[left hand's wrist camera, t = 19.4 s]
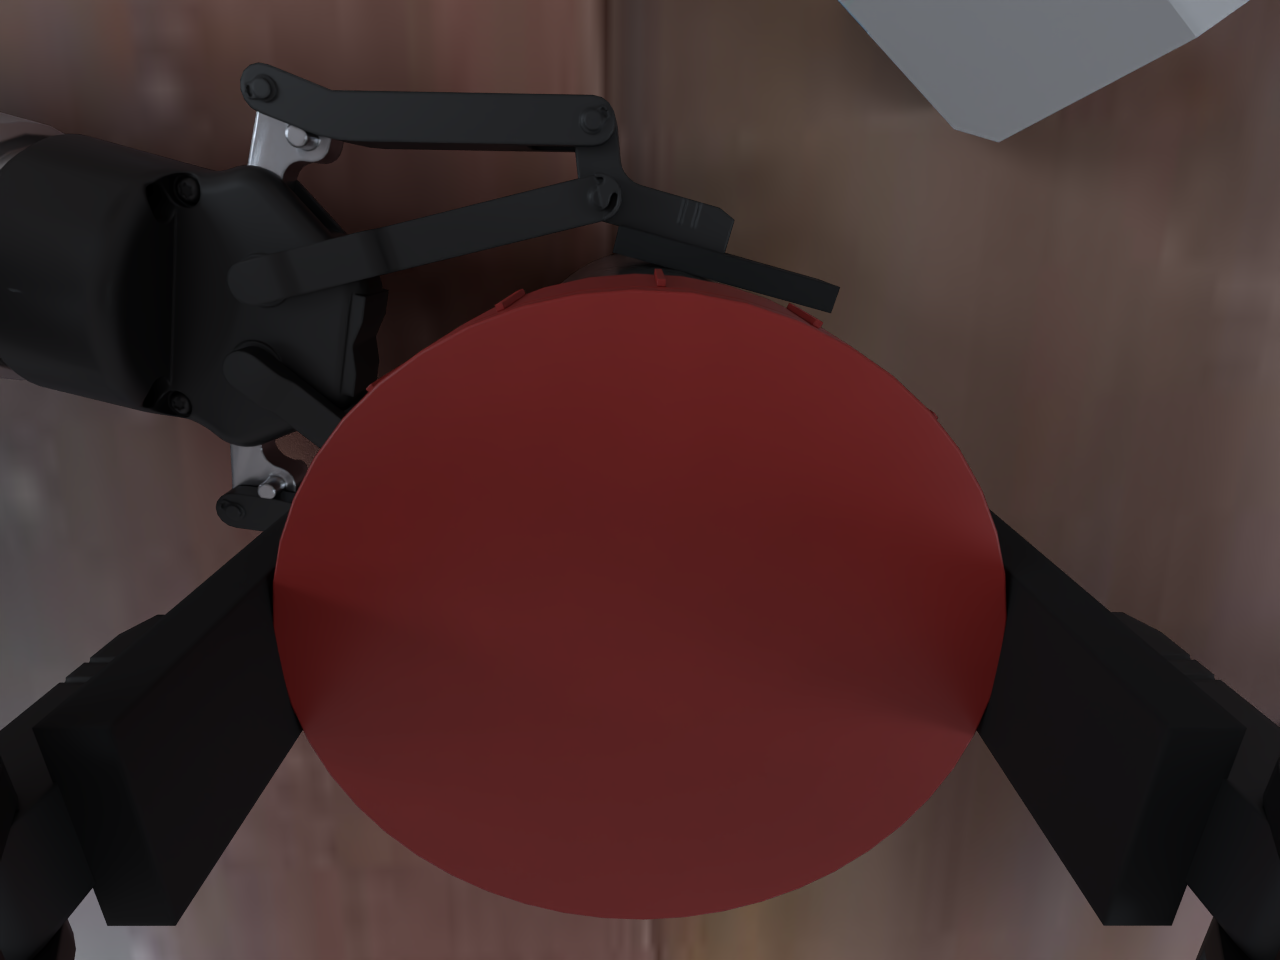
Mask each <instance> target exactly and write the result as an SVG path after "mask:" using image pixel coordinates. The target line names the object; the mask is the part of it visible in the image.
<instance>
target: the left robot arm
mask: <svg viewBox="0 0 1280 960" xmlns="http://www.w3.org/2000/svg"><path fill="white" fill-rule="evenodd" d="M989 511H990V513H991V516H992V519H993V522H994V524H995V527H996V530H997V533H998V539H999V544H1000V549H1001V554H1002V560H1003V565H1004V570H1005V578H1006V611H1007V619H1006V626H1005V632H1004V637H1003V642H1002V647H1001V652H1000V657H999V661H998V666H997V670H996V675H995V679H994V684H993V688H992V692H991V697H990V700H989V703H988V705H987V707H986V709H985V712H984V714H983V716H982V718H981V721H980V723H979V725H978V728H977V732H978V733H979V735H980V736H981V738H982V739H983V741H984V742H985V744H986V745H987V747H988V748H989V750H990V752H991V753H992V755H993V756H994V758H995V759H996V761H997V762H998V764H999V765H1000V767H1001V768H1002V770H1003V772H1004V773H1005V775H1006V776H1007V778H1008V779H1009V781H1010V782H1011V784H1012V785H1013V787H1014V788H1015V790H1016V791H1017V793H1018V795H1019V796H1020V798H1021V799H1022V801H1023V802H1024V804H1025V805H1026V807H1027V808H1028V810H1029V811H1030V813H1031V815H1032V816H1033V818H1034V819H1035V821H1036V822H1037V824H1038V825H1039V827H1040V828H1041V830H1042V831H1043V833H1044V835H1045V836H1046V838H1047V839H1048V841H1049V842H1050V844H1051V845H1052V847H1053V848H1054V850H1055V851H1056V853H1057V855H1058V856H1059V858H1060V859H1061V861H1062V862H1063V864H1064V865H1065V867H1066V868H1067V870H1068V871H1069V873H1070V875H1071V876H1072V878H1073V879H1074V881H1075V882H1076V884H1077V885H1078V887H1079V888H1080V890H1081V891H1082V893H1083V894H1084V896H1085V898H1086V899H1087V901H1088V902H1089V904H1090V905H1091V907H1092V908H1093V910H1094V911H1095V913H1096V914H1097V916H1098V918H1099V919H1100V921H1101V922H1102V924H1103V925H1104V926H1172V923H1173V921H1174V918H1175V915H1176V913H1177V910H1178V908H1179V905H1180V902H1181V900H1182V897H1183V894H1184V892H1185V889H1186V887H1187V885H1188V886H1189V887H1190V889H1191V890H1192V891H1193V892H1194V893H1195V895H1196V896H1197V897H1198V898H1199V900H1200V901H1201V902H1202V903H1203V905H1204V906H1205V907H1206V908H1207V909H1208V911H1209V912H1210V913H1211V914H1212V916H1213V919H1212V921H1211V924H1210V926H1209V929H1208V931H1207V933H1206V936H1205V938H1204V941H1203V943H1202V946H1201V948H1200V951H1199V953H1198V955H1197V958H1196V960H1280V727H1278V726H1277V725H1276V724H1275V723H1273V722H1272V721H1271V720H1270V719H1268V718H1267V717H1266V716H1265V715H1263V714H1262V713H1261V712H1260V711H1259V710H1257V709H1256V708H1255V707H1254V706H1252V705H1251V704H1250V703H1249V702H1247V701H1246V700H1245V699H1244V698H1242V697H1241V696H1240V695H1239V694H1237V693H1236V692H1235V691H1234V690H1232V689H1231V688H1230V687H1229V686H1227V685H1226V684H1225V683H1224V682H1222V681H1221V680H1215V678H1214V674H1213V673H1211V672H1210V671H1209V670H1208V669H1206V668H1205V667H1204V666H1203V665H1201V664H1200V663H1199V662H1198V661H1196V660H1190V655H1189V654H1188V653H1186V652H1185V651H1184V650H1183V649H1181V648H1180V647H1179V646H1178V645H1176V644H1175V643H1174V642H1173V641H1171V640H1170V639H1169V638H1168V637H1167V636H1165V635H1164V634H1163V633H1162V632H1160V631H1158V630H1156V629H1154V628H1152V627H1150V626H1148V625H1146V624H1144V623H1142V622H1140V621H1138V620H1136V619H1135V618H1133V617H1131V616H1129V615H1127V614H1125V613H1123V612H1110V611H1109V610H1108V609H1106V608H1105V607H1104V606H1103V605H1102V604H1101V603H1099V602H1098V601H1097V600H1096V599H1095V598H1093V597H1092V596H1091V595H1090V594H1089V593H1088V592H1086V591H1085V590H1084V589H1083V588H1082V587H1080V586H1079V585H1078V584H1077V583H1076V582H1075V581H1073V580H1072V579H1071V578H1070V577H1069V576H1067V575H1066V574H1065V573H1064V572H1063V571H1062V570H1060V569H1059V568H1058V567H1057V566H1056V565H1055V564H1053V563H1052V562H1051V561H1050V560H1049V559H1047V558H1046V557H1045V556H1044V555H1043V554H1042V553H1040V552H1039V551H1038V550H1037V549H1036V548H1034V547H1033V546H1032V545H1031V544H1030V543H1029V542H1027V541H1026V540H1025V539H1024V538H1023V537H1022V536H1020V535H1019V534H1018V533H1017V532H1016V531H1014V530H1013V529H1012V528H1011V527H1010V526H1009V525H1007V524H1006V523H1005V522H1004V521H1003V520H1001V519H1000V518H999V517H998V516H997V515H996V514H994V513H993V512H992V511H991V510H990V509H989ZM288 513H289V510H288V511H287V512H286V513H285V514H284V515H282V516H281V517H280V518H279V519H278V520H277V521H275V522H274V523H273V524H272V525H271V526H269V527H268V528H267V529H266V530H265V531H264V532H262V533H261V534H260V535H259V536H258V537H256V538H255V539H254V540H253V541H252V542H251V543H249V544H248V545H247V546H246V547H245V548H244V549H242V550H241V551H240V552H239V553H238V554H236V555H235V556H234V557H233V558H232V559H231V560H229V561H228V562H227V563H226V564H225V565H223V566H222V567H221V568H220V569H219V570H218V571H216V572H215V573H214V574H213V575H212V576H210V577H209V578H208V579H207V580H206V581H205V582H203V583H202V584H201V585H200V586H199V587H198V588H196V589H195V590H194V591H193V592H192V593H190V594H189V595H188V596H187V597H186V598H185V599H183V600H182V601H181V602H180V603H179V604H177V605H176V606H175V607H174V608H173V609H172V610H170V611H169V612H168V613H167V614H166V615H156V616H154V617H152V618H150V619H148V620H146V621H144V622H143V623H141V624H139V625H137V626H135V627H133V628H131V629H129V630H127V631H125V632H123V633H121V634H119V635H118V636H117V637H115V638H114V639H113V640H112V641H110V642H109V643H108V644H107V645H106V646H104V647H103V648H102V649H101V650H99V651H98V652H97V653H96V654H94V655H93V656H92V657H91V658H90V662H89V663H83V664H82V665H81V666H80V667H78V668H77V669H76V670H75V671H73V672H72V673H71V674H70V675H68V676H67V677H66V681H65V683H59V684H57V685H56V686H55V687H54V688H52V689H51V690H50V691H49V692H48V693H46V694H45V695H44V696H43V697H41V698H40V699H39V700H38V701H36V702H35V703H34V704H33V705H31V706H30V707H29V708H28V709H27V710H25V711H24V712H23V713H22V714H20V715H19V716H18V717H17V718H15V719H14V720H13V721H12V722H10V723H9V724H8V725H7V726H6V727H4V728H3V729H2V730H1V731H0V960H74V958H75V951H76V947H75V940H74V934H73V931H72V929H71V926H70V924H69V921H68V918H69V916H70V915H71V914H72V913H73V911H74V910H75V909H76V908H77V906H78V905H79V904H80V903H81V901H82V900H83V899H84V898H85V897H86V895H87V894H88V893H89V892H90V890H91V889H92V888H93V889H94V892H95V894H96V897H97V900H98V902H99V905H100V908H101V910H102V913H103V915H104V918H105V921H106V923H107V926H176V924H177V923H178V921H179V919H180V918H181V916H182V915H183V913H184V912H185V910H186V909H187V907H188V906H189V904H190V903H191V901H192V899H193V898H194V896H195V895H196V893H197V892H198V890H199V889H200V887H201V886H202V884H203V883H204V881H205V879H206V878H207V876H208V875H209V873H210V872H211V870H212V869H213V867H214V866H215V864H216V863H217V861H218V859H219V858H220V856H221V855H222V853H223V852H224V850H225V849H226V847H227V846H228V844H229V843H230V841H231V840H232V838H233V836H234V835H235V833H236V832H237V830H238V829H239V827H240V826H241V824H242V823H243V821H244V820H245V818H246V816H247V815H248V813H249V812H250V810H251V809H252V807H253V806H254V804H255V803H256V801H257V800H258V798H259V796H260V795H261V793H262V792H263V790H264V789H265V787H266V786H267V784H268V783H269V781H270V780H271V778H272V776H273V775H274V773H275V772H276V770H277V769H278V767H279V766H280V764H281V763H282V761H283V760H284V758H285V757H286V755H287V753H288V752H289V750H290V749H291V747H292V746H293V744H294V743H295V741H296V740H297V738H298V737H299V735H300V733H301V732H302V730H303V729H302V727H301V725H300V722H299V720H298V718H297V716H296V714H295V712H294V710H293V708H292V706H291V703H290V699H289V696H288V691H287V687H286V683H285V679H284V675H283V670H282V665H281V661H280V656H279V652H278V647H277V642H276V637H275V632H274V627H273V580H274V574H275V567H276V561H277V555H278V548H279V542H280V538H281V535H282V532H283V529H284V526H285V523H286V520H287V517H288Z"/></svg>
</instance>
